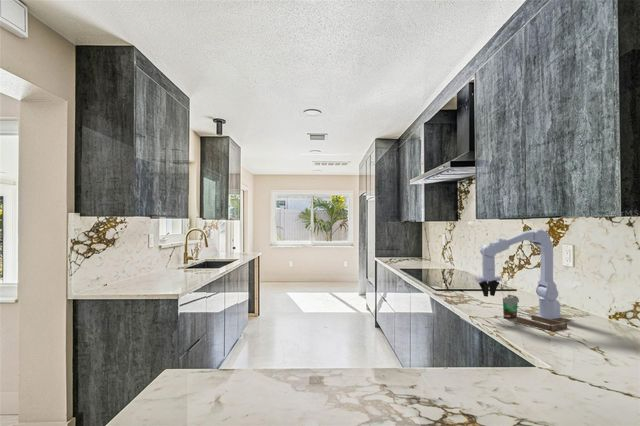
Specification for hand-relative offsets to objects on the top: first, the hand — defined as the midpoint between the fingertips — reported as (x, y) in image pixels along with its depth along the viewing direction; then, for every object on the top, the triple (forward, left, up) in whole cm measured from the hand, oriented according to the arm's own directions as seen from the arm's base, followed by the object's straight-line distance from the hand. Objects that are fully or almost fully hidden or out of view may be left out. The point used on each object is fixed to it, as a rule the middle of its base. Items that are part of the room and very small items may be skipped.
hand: (489, 296), depth 191 cm
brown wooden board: (-10, +20, -10) cm, 25 cm away
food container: (-10, +5, -11) cm, 15 cm away
